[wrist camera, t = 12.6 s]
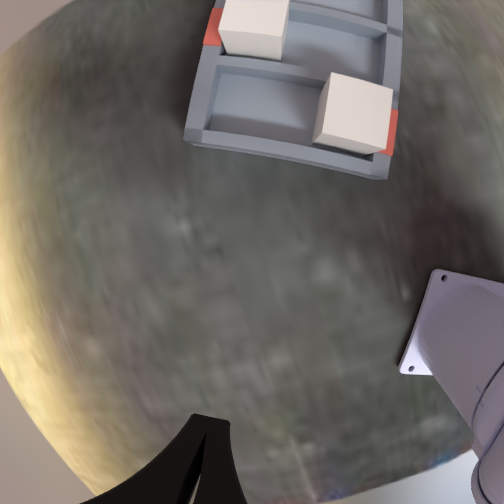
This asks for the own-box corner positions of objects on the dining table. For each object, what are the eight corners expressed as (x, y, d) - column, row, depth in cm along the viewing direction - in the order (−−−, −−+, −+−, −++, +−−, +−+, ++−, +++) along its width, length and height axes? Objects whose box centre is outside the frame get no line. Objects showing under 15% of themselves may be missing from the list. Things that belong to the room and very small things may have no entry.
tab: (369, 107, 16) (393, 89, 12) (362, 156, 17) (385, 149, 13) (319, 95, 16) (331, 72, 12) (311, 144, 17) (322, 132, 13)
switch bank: (391, -2, 15) (403, -21, 12) (373, 179, 18) (388, 179, 15) (237, -32, 15) (232, -53, 12) (194, 145, 18) (181, 139, 15)
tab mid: (288, 25, 15) (290, -9, 11) (280, 65, 16) (281, 36, 12) (238, 19, 15) (230, -15, 11) (229, 59, 16) (218, 29, 12)
